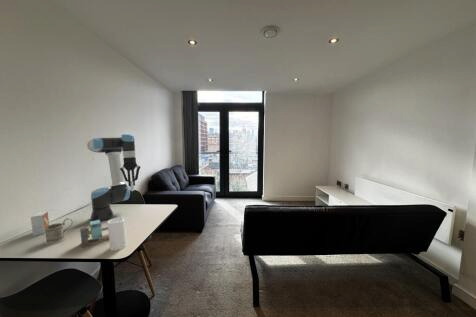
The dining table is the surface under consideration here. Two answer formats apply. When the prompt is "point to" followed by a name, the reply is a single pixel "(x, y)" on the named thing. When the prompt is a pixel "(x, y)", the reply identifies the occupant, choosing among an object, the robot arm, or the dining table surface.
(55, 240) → the mug
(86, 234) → the rail
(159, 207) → the dining table surface
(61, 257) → the dining table surface
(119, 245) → the cup
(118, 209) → the dining table surface
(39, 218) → the small box
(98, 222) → the sleeve
